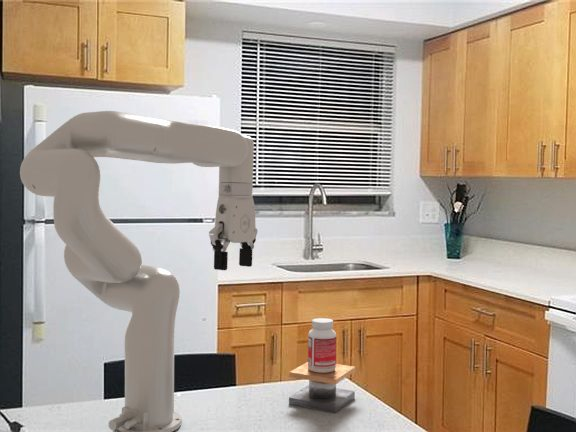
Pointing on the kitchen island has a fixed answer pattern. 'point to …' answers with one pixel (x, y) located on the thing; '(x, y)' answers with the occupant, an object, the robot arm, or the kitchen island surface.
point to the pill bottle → (322, 346)
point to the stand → (322, 389)
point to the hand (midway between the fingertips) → (233, 267)
